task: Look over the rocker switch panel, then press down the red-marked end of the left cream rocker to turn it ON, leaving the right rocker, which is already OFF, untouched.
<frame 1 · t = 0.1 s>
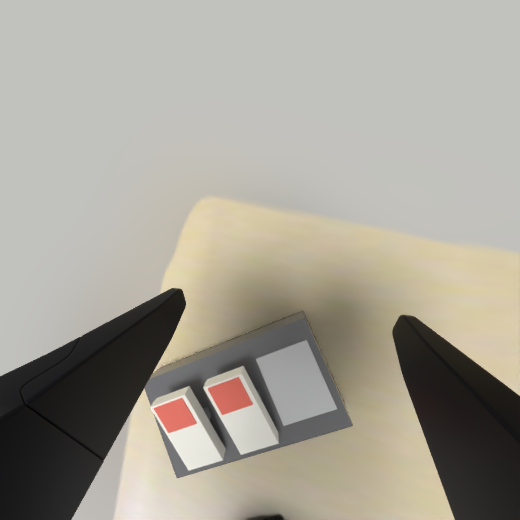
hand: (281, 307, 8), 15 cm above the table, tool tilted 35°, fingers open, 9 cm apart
rocker switch panel: (244, 384, 23), on the table
rocker 2: (188, 429, 19), point 5 cm above the table, hinge at -12.0°
rocker 1: (242, 411, 19), point 5 cm above the table, hinge at -12.0°
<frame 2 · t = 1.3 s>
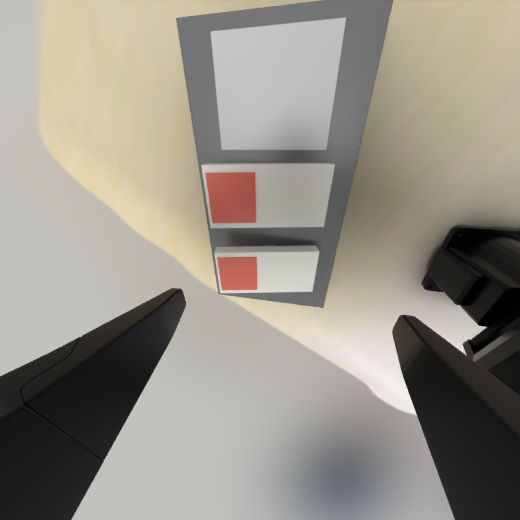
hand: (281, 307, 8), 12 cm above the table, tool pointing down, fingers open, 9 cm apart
rocker switch panel: (275, 195, 18), on the table
rocker 2: (266, 270, 16), point 5 cm above the table, hinge at -12.0°
rocker 1: (267, 197, 13), point 5 cm above the table, hinge at -12.0°
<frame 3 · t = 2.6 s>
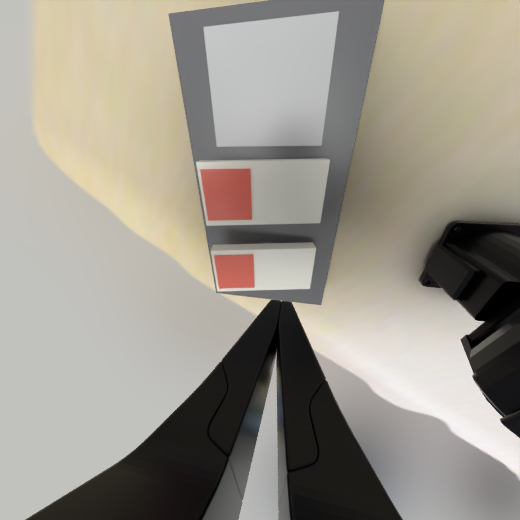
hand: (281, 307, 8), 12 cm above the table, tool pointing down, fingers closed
rocker switch panel: (271, 192, 18), on the table
rocker 2: (263, 268, 16), point 5 cm above the table, hinge at -12.0°
rocker 1: (263, 193, 13), point 5 cm above the table, hinge at -12.0°
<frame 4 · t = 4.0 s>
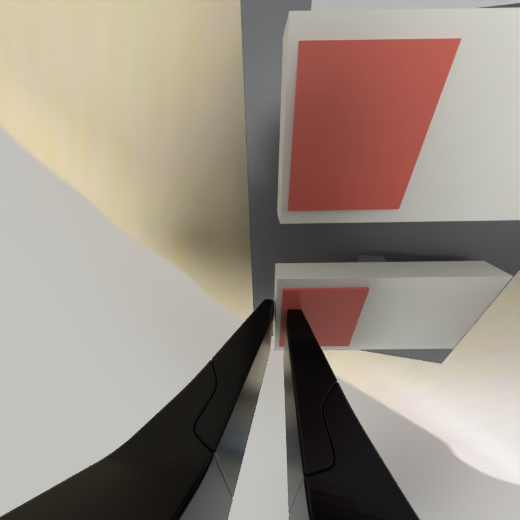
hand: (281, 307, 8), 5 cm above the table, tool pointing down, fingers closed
rocker switch panel: (373, 163, 9), on the table
rocker 2: (371, 310, 8), point 5 cm above the table, hinge at -11.6°, touching gripper
rocker 1: (440, 139, 5), point 5 cm above the table, hinge at -12.0°
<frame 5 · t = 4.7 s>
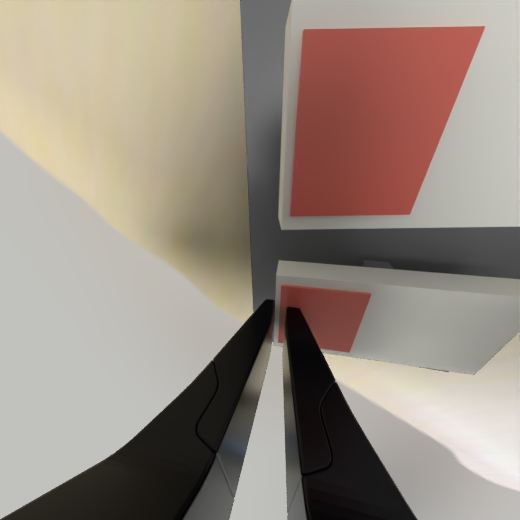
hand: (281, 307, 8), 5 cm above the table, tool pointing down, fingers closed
rocker switch panel: (379, 164, 9), on the table
rocker 2: (377, 318, 8), point 5 cm above the table, hinge at -1.9°, touching gripper
rocker 1: (455, 139, 5), point 5 cm above the table, hinge at -12.0°
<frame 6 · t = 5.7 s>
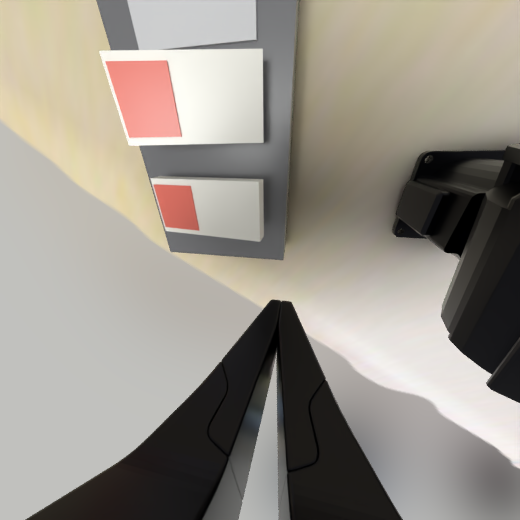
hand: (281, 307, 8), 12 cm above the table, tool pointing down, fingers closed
rocker switch panel: (222, 128, 15), on the table
rocker 2: (208, 208, 14), point 5 cm above the table, hinge at 6.5°
rocker 1: (192, 102, 11), point 5 cm above the table, hinge at -12.0°
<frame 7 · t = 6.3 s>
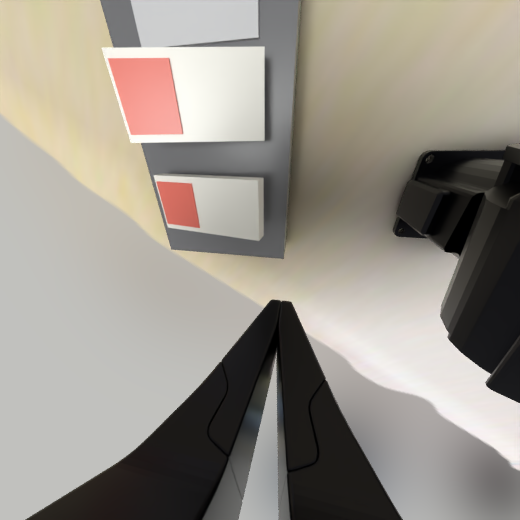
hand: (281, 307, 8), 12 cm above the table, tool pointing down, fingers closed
rocker switch panel: (223, 126, 16), on the table
rocker 2: (209, 206, 14), point 5 cm above the table, hinge at 9.3°
rocker 1: (193, 100, 11), point 5 cm above the table, hinge at -12.0°
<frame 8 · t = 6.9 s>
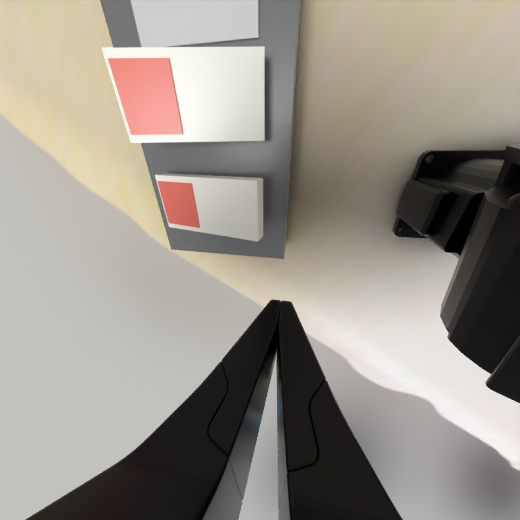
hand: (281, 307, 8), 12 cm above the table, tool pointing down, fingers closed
rocker switch panel: (223, 126, 16), on the table
rocker 2: (209, 206, 14), point 5 cm above the table, hinge at 11.2°
rocker 1: (193, 100, 11), point 5 cm above the table, hinge at -12.0°
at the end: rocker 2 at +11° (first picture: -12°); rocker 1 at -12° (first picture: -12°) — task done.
